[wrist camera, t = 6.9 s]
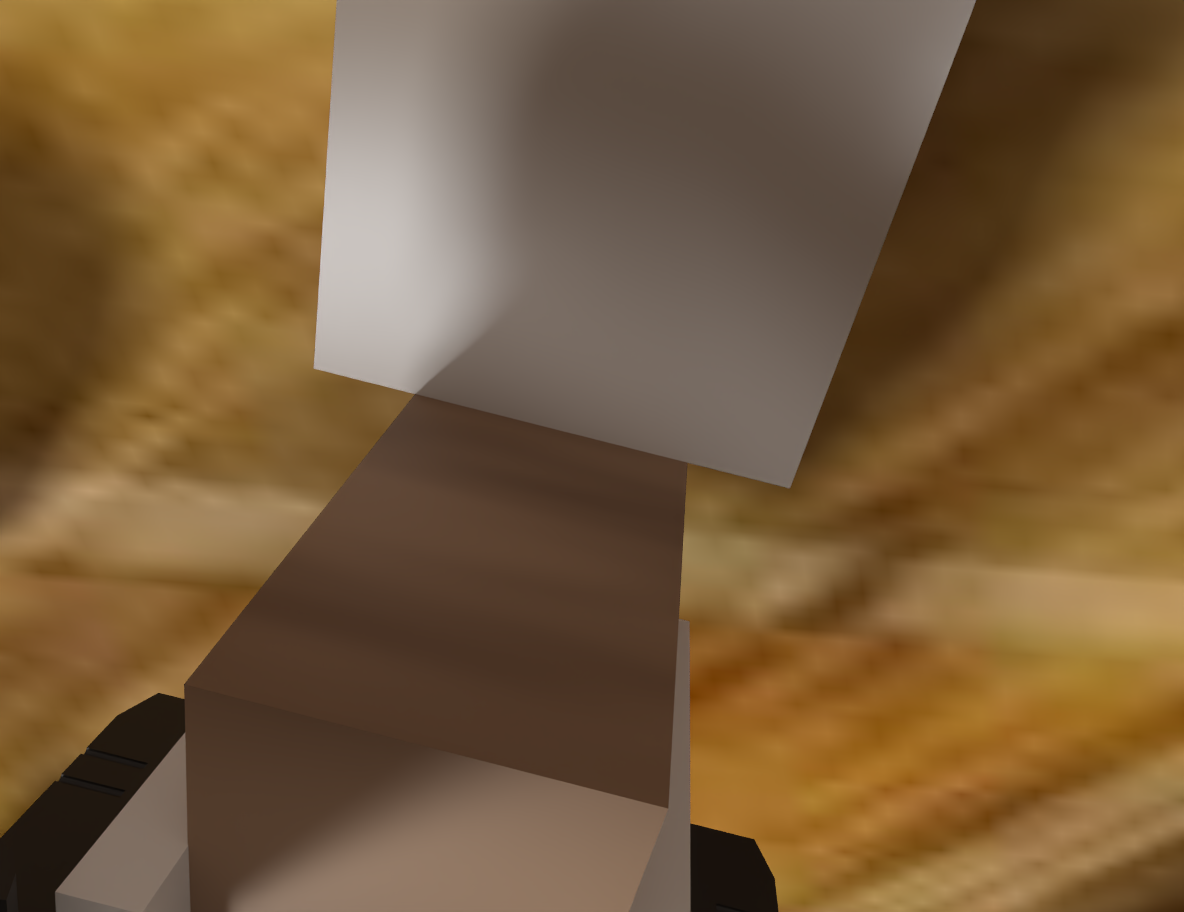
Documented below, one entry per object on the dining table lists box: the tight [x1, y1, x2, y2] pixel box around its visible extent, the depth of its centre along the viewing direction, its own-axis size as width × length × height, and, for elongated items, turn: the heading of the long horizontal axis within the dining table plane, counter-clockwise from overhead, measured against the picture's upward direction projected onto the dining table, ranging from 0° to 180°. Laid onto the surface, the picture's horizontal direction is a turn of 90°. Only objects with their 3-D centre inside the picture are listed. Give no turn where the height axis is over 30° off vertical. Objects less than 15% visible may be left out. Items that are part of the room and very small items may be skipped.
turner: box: [184, 0, 976, 912], centre depth 10 cm, size 18×7×7 cm, turn 167°
